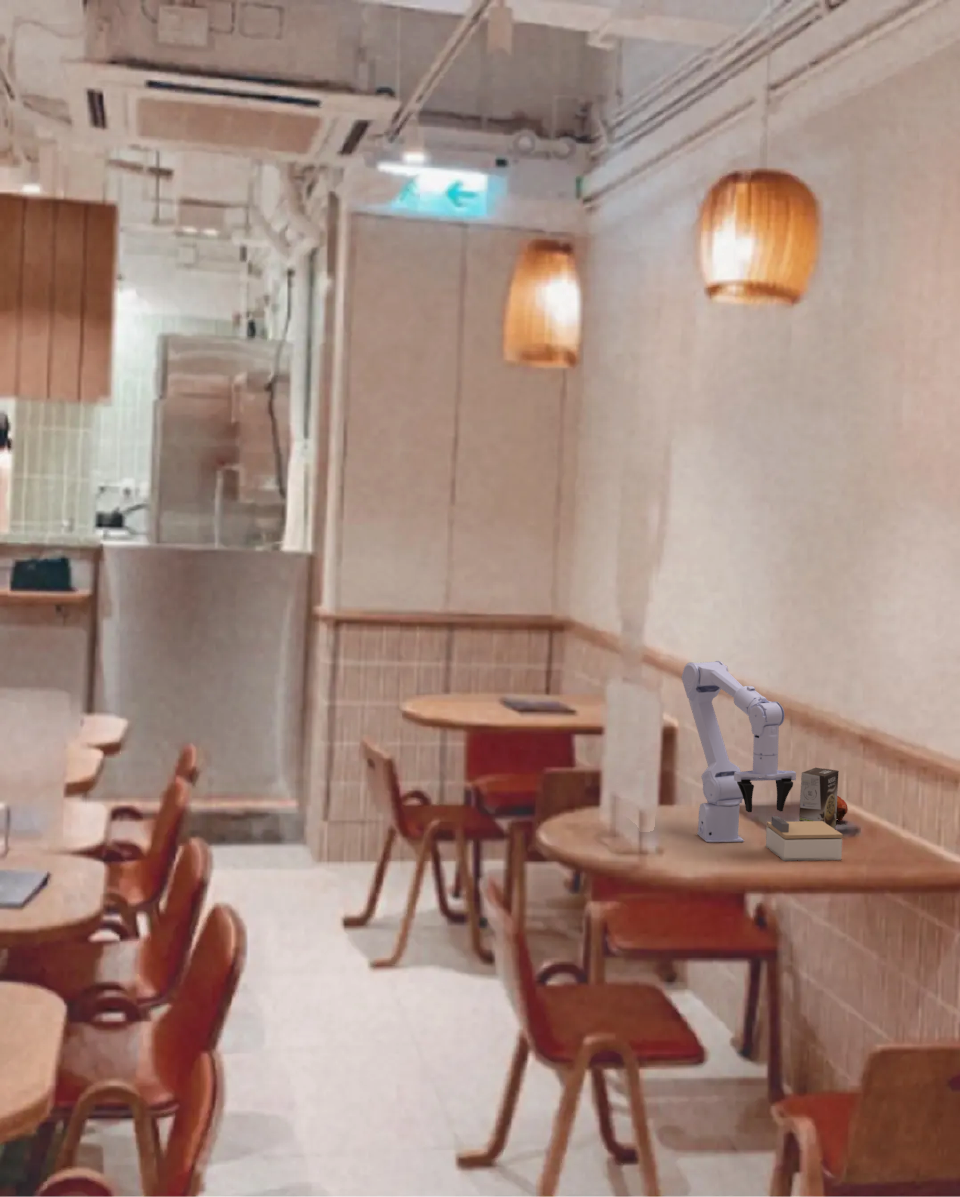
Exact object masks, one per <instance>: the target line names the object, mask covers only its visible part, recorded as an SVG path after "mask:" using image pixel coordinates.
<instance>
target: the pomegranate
mask: <svg viewBox="0 0 960 1197" xmlns="http://www.w3.org/2000/svg"><path fill="white" fill-rule="evenodd" d="M848 811H849V810H848V804H847V802H846V801H845V800H844V799H843V798H842V797H841V796H840V795H837V811H836V819H838V820H839V821H840V820H843V819H844V817H845V816H846V814H848Z"/></svg>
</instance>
